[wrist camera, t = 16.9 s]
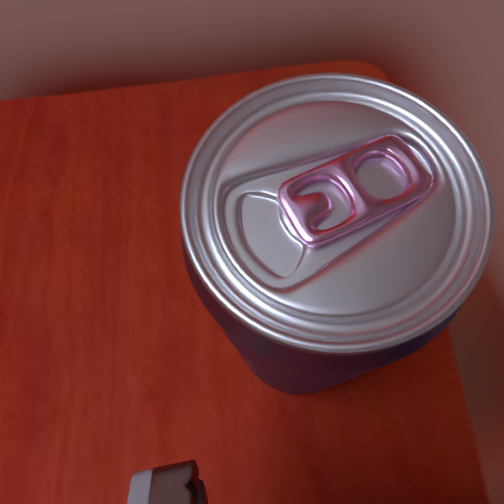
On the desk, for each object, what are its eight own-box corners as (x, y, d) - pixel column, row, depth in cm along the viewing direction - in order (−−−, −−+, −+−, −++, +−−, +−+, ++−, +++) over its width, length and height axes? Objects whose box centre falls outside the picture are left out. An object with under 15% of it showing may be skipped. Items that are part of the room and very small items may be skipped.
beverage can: (379, 361, 21) (588, 264, 7) (271, 416, 20) (253, 437, 6) (321, 260, 23) (388, 23, 9) (221, 307, 22) (122, 135, 8)
